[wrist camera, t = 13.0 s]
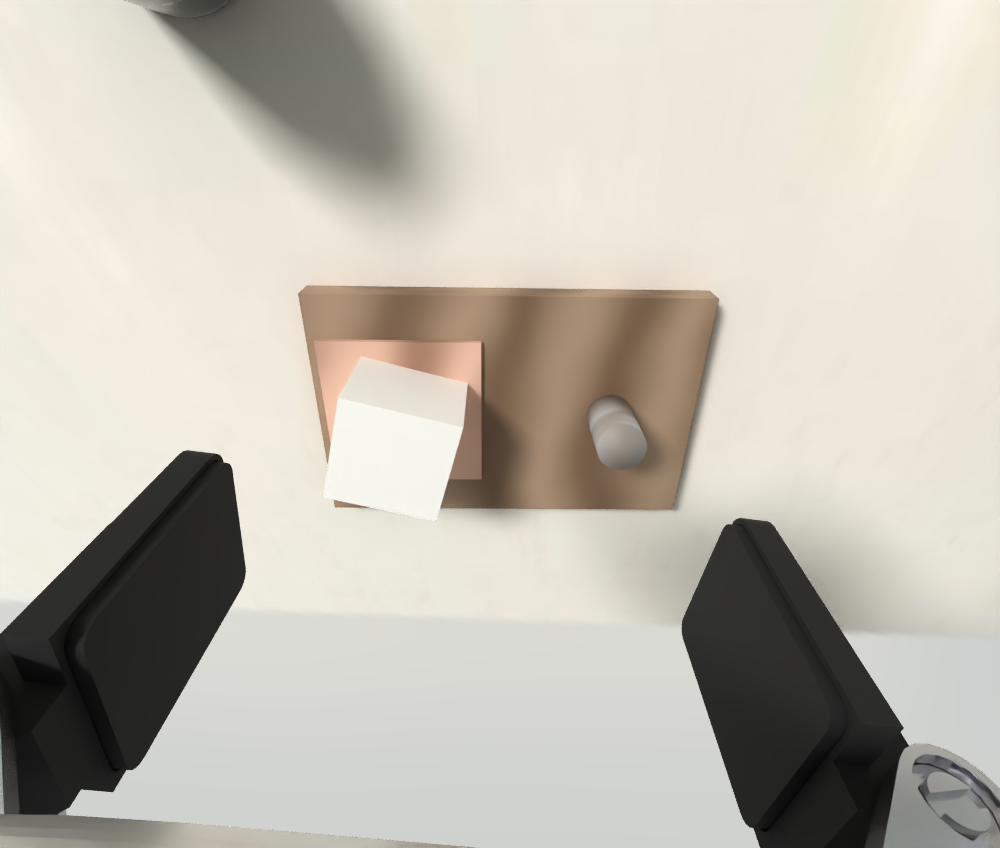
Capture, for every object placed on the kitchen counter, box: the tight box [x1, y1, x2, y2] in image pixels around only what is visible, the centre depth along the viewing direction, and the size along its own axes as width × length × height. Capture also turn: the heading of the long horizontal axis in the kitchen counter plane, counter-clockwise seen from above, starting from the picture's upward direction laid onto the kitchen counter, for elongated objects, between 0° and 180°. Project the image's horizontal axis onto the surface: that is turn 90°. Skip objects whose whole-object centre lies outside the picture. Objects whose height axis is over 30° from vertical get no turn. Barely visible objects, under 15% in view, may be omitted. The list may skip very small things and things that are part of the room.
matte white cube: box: [323, 356, 468, 521], centre depth 29 cm, size 6×6×5 cm
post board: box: [298, 286, 719, 509], centre depth 30 cm, size 22×14×5 cm, turn 89°
